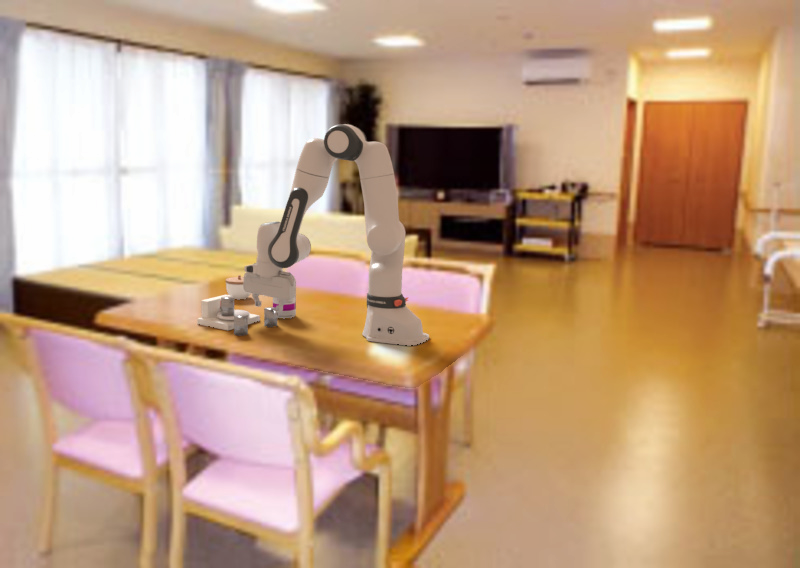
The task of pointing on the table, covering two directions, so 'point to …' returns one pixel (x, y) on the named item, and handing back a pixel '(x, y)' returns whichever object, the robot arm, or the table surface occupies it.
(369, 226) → the robot arm
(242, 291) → the lidded jar
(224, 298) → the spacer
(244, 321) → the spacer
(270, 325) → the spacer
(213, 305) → the scale
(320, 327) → the table surface
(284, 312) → the supplement can
